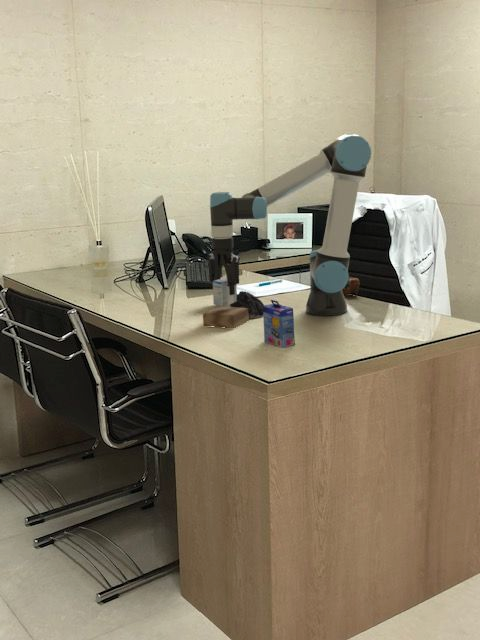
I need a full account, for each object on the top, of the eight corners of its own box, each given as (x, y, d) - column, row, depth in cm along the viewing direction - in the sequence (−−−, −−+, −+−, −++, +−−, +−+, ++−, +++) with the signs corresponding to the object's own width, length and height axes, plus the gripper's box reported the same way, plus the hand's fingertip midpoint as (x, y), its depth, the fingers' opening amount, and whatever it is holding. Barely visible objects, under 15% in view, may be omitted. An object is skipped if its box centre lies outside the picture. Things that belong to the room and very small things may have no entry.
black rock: (273, 314, 298) (271, 288, 297) (256, 319, 286) (254, 292, 285) (241, 314, 304) (240, 288, 303) (224, 319, 293) (222, 292, 291)
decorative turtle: (352, 299, 314) (350, 279, 312) (326, 296, 326) (324, 277, 324) (369, 294, 319) (367, 275, 318) (343, 291, 331) (341, 273, 330)
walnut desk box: (248, 321, 286) (248, 307, 285) (233, 329, 276) (233, 315, 275) (219, 319, 292) (218, 305, 291) (203, 327, 281) (202, 313, 280)
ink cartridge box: (263, 342, 258) (261, 298, 255) (276, 339, 261) (275, 295, 258) (281, 348, 250) (280, 303, 247) (295, 345, 253) (294, 300, 250)
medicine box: (227, 300, 286) (226, 277, 284) (237, 302, 284) (236, 278, 282) (213, 305, 281) (212, 280, 279) (222, 306, 278) (221, 281, 276)
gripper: (248, 237, 274) (250, 303, 279) (210, 234, 285) (213, 298, 290) (234, 240, 268) (237, 307, 274) (196, 237, 279) (199, 301, 285)
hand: (225, 302), depth 282 cm, fingers closed on medicine box, 4 cm apart
